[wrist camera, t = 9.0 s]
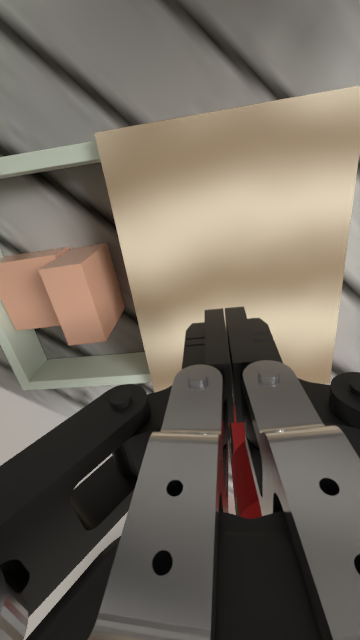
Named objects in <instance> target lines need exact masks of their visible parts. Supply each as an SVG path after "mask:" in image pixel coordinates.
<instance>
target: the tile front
mask: <svg viewBox="0 0 360 640" xmlns="http://www.w3.org/2000/svg"><path fill="white" fill-rule="evenodd" d="M39 273H40V275H41V278H42V280H43V283H44V285H45V288H46V290H47V293H48V295H49V298H50V300H51V303H52V305H53V308H54V310H55V313H56V315H57V318H58V320H59V323H60V325H61V328H62V330H63V332H64V335H65V337H66V340H67V342H68V345H69V346H70V345H79V344H88V343H97V342H106V341H107V340H108V338H109V336H110V334H111V332H112V330H113V329H114V327H115V325H116V323H117V321H118V319H119V318H120V316H121V314H122V312H123V310H124V309H125V305H124V301H123V298H122V294H121V291H120V287H119V283H118V280H117V276H116V273H115V269H114V265H113V262H112V258H111V255H110V251H109V248H108V244H107V243H102V244H96V245H90V246H83V247H77V248H73V249H71V250H70V251H68V252H66V253H65V254H63V255H62V256H60V257H58V258H57V259H55V260H53V261H52V262H50V263H49V264H47V265H45V266H44V267H42V268H41V269H39Z"/></svg>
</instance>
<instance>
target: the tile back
mask: <svg viewBox="0 0 360 640" xmlns="http://www.w3.org/2000/svg"><path fill="white" fill-rule="evenodd" d="M68 251H70V249H69V247H63V248H56V249H50V250H43V251H37V252H30V253H24V254H17V255H11V256H5V257H2V258H0V299H1V301H2V303H3V305H4V307H5V309H6V311H7V313H8V315H9V317H10V319H11V322H12V324H13V326H14V328H15V330H16V331H18V330H26V329H35V328H44V327H53V326H61V325H60V323H59V320H58V318H57V315H56V313H55V310H54V308H53V305H52V303H51V300H50V298H49V295H48V293H47V290H46V288H45V285H44V283H43V280H42V278H41V275H40V273H39V269H41V268H42V267H44V266H45V265H47V264H49V263H50V262H52V261H53V260H55V259H57V258H58V257H60V256H62V255H63V254H65V253H66V252H68Z"/></svg>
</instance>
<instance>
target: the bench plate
mask: <svg viewBox="0 0 360 640" xmlns="http://www.w3.org/2000/svg"><path fill="white" fill-rule="evenodd" d="M94 134H95V138H96V142H97V147H98V151H99V155H100V160H101V164H102V168H103V173H104V177H105V181H106V186H107V190H108V194H109V199H110V203H111V207H112V212H113V216H114V220H115V225H116V229H117V233H118V238H119V242H120V246H121V250H122V255H123V259H124V263H125V268H126V272H127V276H128V281H129V285H130V289H131V294H132V298H133V302H134V307H135V311H136V315H137V320H138V324H139V328H140V333H141V337H142V341H143V345H144V350H145V354H146V358H147V363H148V367H149V371H150V376H151V380H152V384H153V389H154V393H155V392H158V391H161V390H164V389H166V388H168V387H170V386H172V385H173V381H174V378H175V376H176V374H177V373H178V372H179V371H181V370H182V361H183V352H184V343H185V334H186V330H187V329H188V327H189V326H190V325H191V324H192V323H202V322H205V310H209V309H220V308H223V311H224V318H225V308H231V307H242V306H244V309H245V312H246V316H247V319H249V318H260V319H262V320H263V321H264V322H266V323H267V324H268V326H269V329H270V331H271V334H272V336H273V340H274V341H275V344H276V346H277V349H278V351H279V354H280V356H281V359H282V361H283V364H285V365H287V366H288V367H290V368H291V369H292V370H293V371H294V373H295V375H296V376H297V378H299V379H302V380H304V381H308V382H313V383H318V384H322V383H330V375H331V368H332V360H333V352H334V344H335V337H336V329H337V321H338V313H339V306H340V298H341V290H342V283H343V275H344V267H345V259H346V252H347V244H348V236H349V228H350V221H351V213H352V205H353V197H354V190H355V182H356V174H357V167H358V159H359V151H360V86H354V87H348V88H343V89H337V90H332V91H326V92H320V93H315V94H309V95H303V96H298V97H292V98H287V99H281V100H275V101H270V102H264V103H259V104H253V105H247V106H242V107H236V108H230V109H225V110H219V111H214V112H208V113H202V114H197V115H191V116H186V117H180V118H174V119H169V120H163V121H157V122H152V123H146V124H141V125H135V126H129V127H124V128H118V129H112V130H107V131H101V132H96V133H94ZM225 326H226V321H225Z"/></svg>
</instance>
